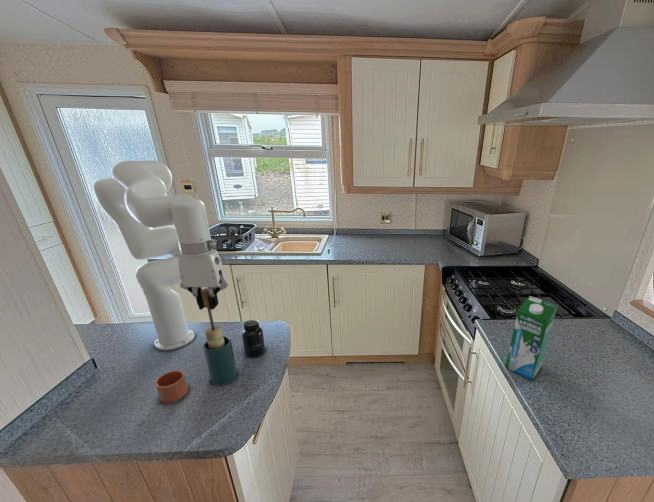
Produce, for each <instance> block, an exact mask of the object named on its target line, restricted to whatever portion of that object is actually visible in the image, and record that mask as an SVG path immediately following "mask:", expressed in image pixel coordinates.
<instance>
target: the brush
mask: <svg viewBox="0 0 654 502" xmlns="http://www.w3.org/2000/svg"><path fill="white" fill-rule="evenodd" d="M200 292H201V296H202V301H203V306H204V308H206V309H207V313H208V318H209V323H210V326H208V327H206V328H205V330H204V333H205V337H206V341H207V342H208V347H209V349H210V350H215V349H220V348H222V347H224V345H225V342H224V337H223V336H224V332H223V328H222V326H221V325H219V324H218V325H217V324H215V323H214V318H213V313H212V310H211V309H210V305H209V300H208V297H210V295H209V291H208V287H205V288H202V290H201V291H200Z"/></svg>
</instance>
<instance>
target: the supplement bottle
mask: <svg viewBox="0 0 654 502" xmlns="http://www.w3.org/2000/svg"><path fill="white" fill-rule="evenodd" d="M241 339H242V345H243V352H244V355H245V356H247V357H250V358H255V357H258V356H260V355H262V354H264V352H265V350H266V347H265V339H264V330H263V328H262V327H261V326H260V323H259V320H257V319H248V320H246V321H245V322H244V323H243V329H242V332H241Z"/></svg>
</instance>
